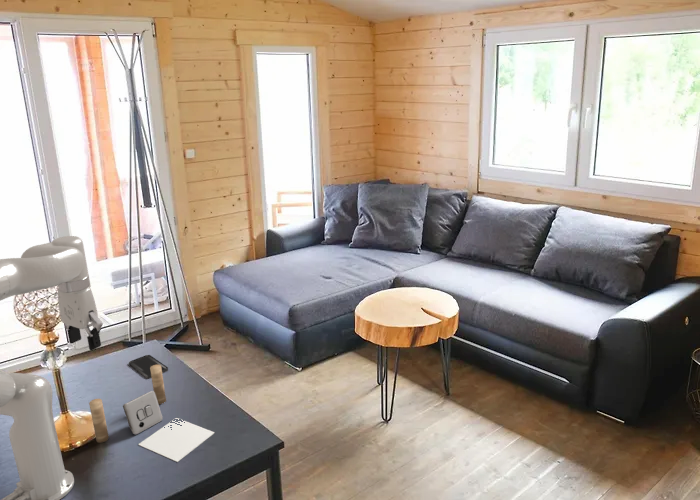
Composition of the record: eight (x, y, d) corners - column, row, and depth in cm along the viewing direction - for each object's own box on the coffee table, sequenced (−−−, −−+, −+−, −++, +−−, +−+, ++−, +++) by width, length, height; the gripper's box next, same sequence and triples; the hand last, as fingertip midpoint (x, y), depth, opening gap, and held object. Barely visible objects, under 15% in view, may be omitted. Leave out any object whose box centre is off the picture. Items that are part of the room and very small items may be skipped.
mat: (177, 462, 149) (177, 461, 149) (138, 444, 156) (138, 444, 156) (214, 432, 160) (214, 432, 160) (176, 418, 167) (176, 417, 167)
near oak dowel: (101, 444, 157) (94, 406, 153) (94, 440, 158) (86, 403, 154) (111, 437, 159) (104, 400, 156) (103, 434, 161) (96, 397, 157)
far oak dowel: (160, 405, 174) (155, 370, 170) (153, 402, 175) (147, 368, 172) (168, 400, 176) (163, 366, 173) (161, 397, 178) (156, 363, 174)
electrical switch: (134, 436, 160) (128, 406, 157) (125, 431, 163) (118, 402, 160) (163, 420, 166) (158, 392, 164) (153, 415, 170) (148, 387, 167)
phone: (148, 354, 204) (169, 368, 194) (149, 356, 204) (169, 371, 194) (127, 362, 199) (147, 377, 188) (127, 365, 199) (148, 380, 189)
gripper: (40, 283, 149) (52, 343, 154) (82, 294, 140) (94, 358, 146) (66, 274, 155) (77, 332, 160) (108, 284, 147) (118, 345, 152)
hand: (85, 344), depth 153 cm, fingers open, 7 cm apart
